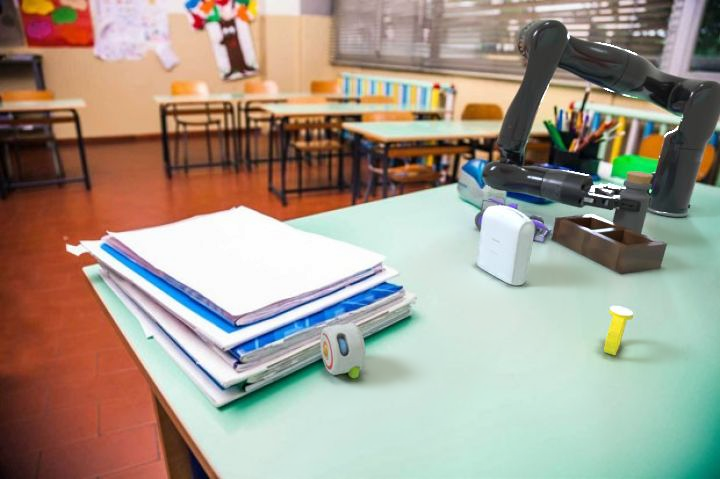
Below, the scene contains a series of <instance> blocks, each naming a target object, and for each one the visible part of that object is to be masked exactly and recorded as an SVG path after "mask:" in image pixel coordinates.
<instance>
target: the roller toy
mask: <svg viewBox="0 0 720 479" xmlns="http://www.w3.org/2000/svg"><path fill="white" fill-rule="evenodd" d="M319 342H320V343H319V344H320V353H321V358H322V361H323V364H324V367H325V369H326V370H327V372H328V373H329V374H331V375H334V376H337V375H341V374H348V376H349V377H350V378H351V379H356V378H357V379H358V378H359V375H360V370H362V369H363V367H364V365H365V363H366V354H367V352H366V344H365V339H364V336H363V334H362V331H361V329H360V328H359V326H358V325H357V324H355V323H353V322H347V323H346V324H333V325H329V326H325V327H324V328H323V329H322V330H321V333H320V340H319Z"/></svg>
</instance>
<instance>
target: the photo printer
mask: <svg viewBox="0 0 720 479" xmlns="http://www.w3.org/2000/svg"><path fill="white" fill-rule="evenodd" d="M534 232H535V226H534V223H533V222H532V221H531V220H530V219H529V217H528V216H527V215H526V214H525V213H524V212H522V211H520V210H518V209H517V210H516V209H514V208H511V207H508V205H506V206H502V205H496V206H490V207H488V208H487V209H486V210H485V211H484V214H483V217H482V224H481V230H480V234H479V242H478V248H477V258H476V265H477V266H478V268H480V269H482V270H483V271H485V272H486V273H489V274H490V275H492V276H494V277H495V278H497V279H499V280H501V281H502V282H505V283H506V284H508V285H512V286H521V285H524V284H525V282H526V281H527V280H528V274H529V268H530V262H531V257H532V250H533V243H534V238H535V236H534Z"/></svg>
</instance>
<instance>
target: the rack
mask: <svg viewBox="0 0 720 479" xmlns="http://www.w3.org/2000/svg"><path fill="white" fill-rule="evenodd" d="M551 240H552V241H553V242H555V243H558V244H560V245H562V246H564V247H566V248H568V249H570V250H571V251H574V252H576V253H578V254H579V255H582V256H584V257H585V258H587V259H590V260H592V261H594V262H596V263H597V264H600V265H602V266H604V267H606V268H608V269H610V270H611V271H614V272H616V273H619V274H620V275H624V274H631V273H637V272H645V271H650V270H657V269H661V267H662V264H663V261H664V258H665V253H666V250H667V246H668V243H666V242H664V241H662V240H659V239H656V238H654V237H651V236H649V235H646V234H643V233H638V232H636V231H633V230H631V229H628V228H626V227H623V226H621V225H618V224H616V223H613V221H610V220H608V219H605V218H603V217H600V216H597V215H595V214H593V213H590V214H589V213H588V214H580V215H579V214H578V215H569V216H557V217H555V219H554V224H553V230H552V235H551Z"/></svg>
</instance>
